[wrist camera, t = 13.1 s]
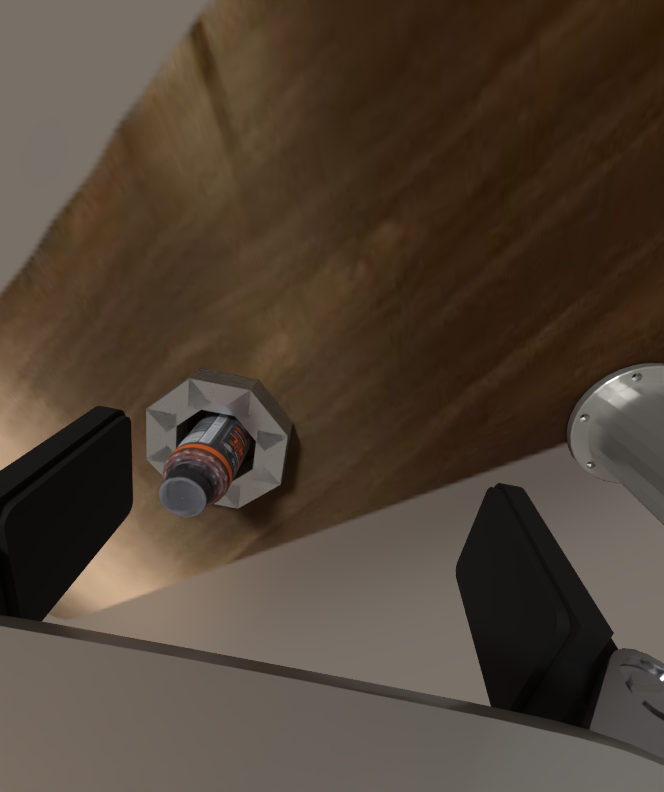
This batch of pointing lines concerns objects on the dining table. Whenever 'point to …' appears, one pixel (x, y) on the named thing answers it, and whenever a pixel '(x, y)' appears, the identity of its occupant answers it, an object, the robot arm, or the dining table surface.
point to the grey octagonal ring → (231, 399)
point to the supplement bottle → (204, 465)
